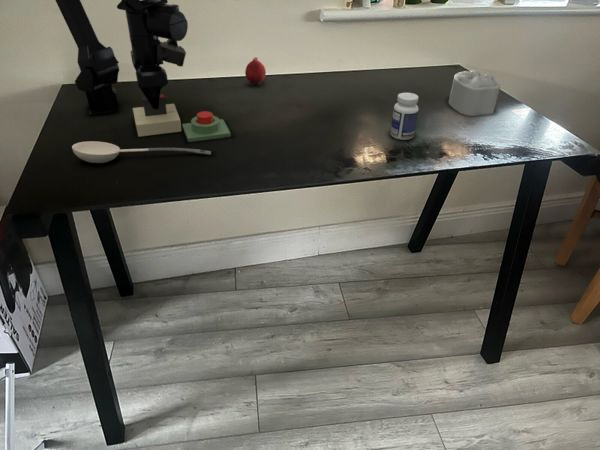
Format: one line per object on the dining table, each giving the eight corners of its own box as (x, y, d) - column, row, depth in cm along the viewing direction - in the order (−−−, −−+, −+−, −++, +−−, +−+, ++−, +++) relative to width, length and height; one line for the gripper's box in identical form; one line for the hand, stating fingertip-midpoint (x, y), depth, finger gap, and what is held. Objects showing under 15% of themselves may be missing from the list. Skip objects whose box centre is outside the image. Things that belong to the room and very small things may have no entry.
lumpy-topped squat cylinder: (463, 116, 128) (471, 84, 123) (440, 97, 138) (446, 67, 133) (498, 113, 130) (507, 81, 125) (473, 95, 140) (480, 65, 135)
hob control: (138, 136, 114) (135, 124, 112) (134, 119, 121) (132, 107, 119) (181, 131, 117) (180, 119, 115) (175, 114, 124) (174, 102, 122)
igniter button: (199, 126, 113) (198, 118, 112) (196, 119, 116) (195, 112, 115) (214, 124, 114) (213, 116, 113) (211, 118, 117) (210, 110, 116)
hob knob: (145, 116, 116) (142, 99, 113) (144, 113, 117) (141, 96, 114) (167, 113, 117) (164, 96, 115) (166, 110, 118) (163, 94, 116)
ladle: (75, 153, 105) (74, 132, 103) (208, 164, 112) (210, 145, 110) (69, 166, 100) (68, 145, 98) (209, 177, 108) (211, 157, 105)
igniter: (188, 142, 112) (186, 130, 110) (182, 127, 118) (181, 116, 116) (230, 136, 115) (230, 125, 113) (223, 122, 121) (222, 111, 119)
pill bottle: (415, 132, 120) (422, 93, 114) (411, 142, 115) (419, 102, 109) (392, 128, 121) (398, 89, 115) (387, 138, 117) (393, 98, 111)
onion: (265, 89, 139) (264, 61, 135) (244, 88, 139) (243, 60, 135) (266, 81, 144) (266, 54, 139) (246, 81, 144) (245, 53, 139)
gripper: (187, 43, 101) (195, 113, 111) (174, 19, 115) (182, 84, 125) (131, 47, 98) (144, 119, 107) (125, 22, 112) (136, 88, 121)
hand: (153, 101), depth 115 cm, fingers open, 9 cm apart
